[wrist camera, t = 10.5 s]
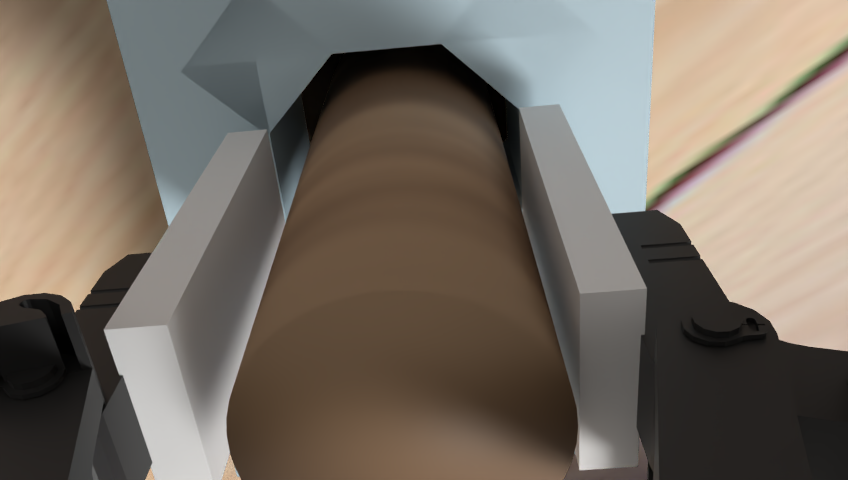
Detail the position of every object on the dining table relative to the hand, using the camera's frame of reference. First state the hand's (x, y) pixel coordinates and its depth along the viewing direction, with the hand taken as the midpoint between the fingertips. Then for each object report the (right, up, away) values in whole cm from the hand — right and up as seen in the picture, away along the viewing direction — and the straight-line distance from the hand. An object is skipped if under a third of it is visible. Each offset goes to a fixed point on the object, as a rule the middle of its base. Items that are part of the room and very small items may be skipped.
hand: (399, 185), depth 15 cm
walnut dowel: (0, +2, +4) cm, 5 cm away
